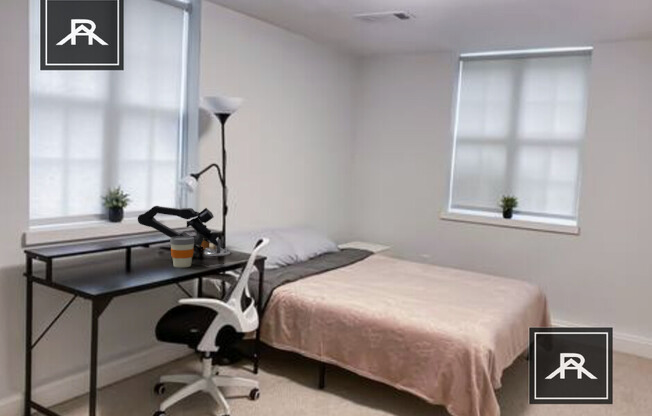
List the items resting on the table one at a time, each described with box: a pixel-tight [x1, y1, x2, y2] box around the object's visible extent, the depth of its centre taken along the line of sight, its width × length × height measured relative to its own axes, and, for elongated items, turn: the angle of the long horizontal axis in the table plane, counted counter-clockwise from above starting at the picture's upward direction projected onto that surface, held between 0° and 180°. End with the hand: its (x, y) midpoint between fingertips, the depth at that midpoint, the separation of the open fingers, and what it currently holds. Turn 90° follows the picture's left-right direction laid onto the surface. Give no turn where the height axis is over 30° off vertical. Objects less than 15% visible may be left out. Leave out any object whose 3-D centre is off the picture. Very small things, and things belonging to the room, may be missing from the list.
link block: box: [209, 243, 217, 249], centre depth 314 cm, size 4×4×4 cm
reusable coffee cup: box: [169, 235, 195, 268], centre depth 281 cm, size 13×13×15 cm
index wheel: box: [204, 238, 231, 257], centre depth 311 cm, size 15×15×10 cm
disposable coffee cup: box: [201, 230, 214, 251], centre depth 326 cm, size 10×10×12 cm
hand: (216, 245), depth 304 cm, fingers closed
